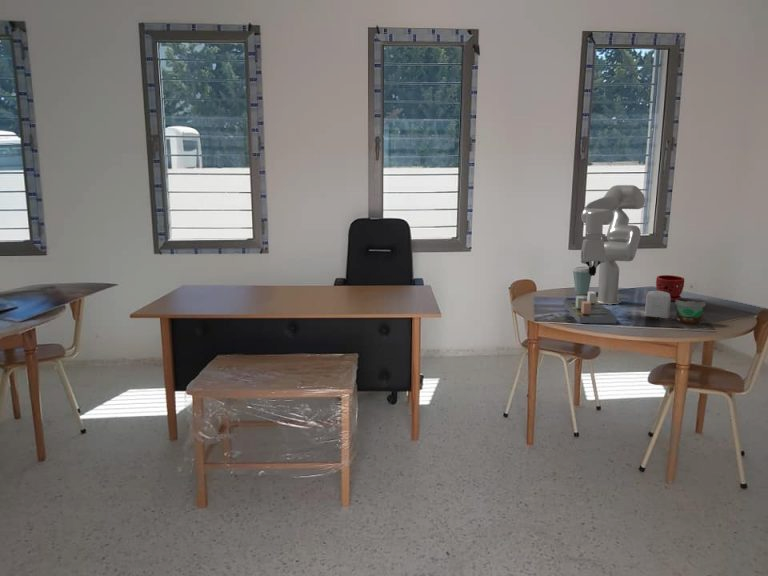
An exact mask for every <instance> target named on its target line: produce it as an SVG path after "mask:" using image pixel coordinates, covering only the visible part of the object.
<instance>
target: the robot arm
mask: <svg viewBox="0 0 768 576" xmlns="http://www.w3.org/2000/svg"><path fill="white" fill-rule="evenodd" d="M645 202H646V196H645V194H644V192H642V191H641V189H640V188H639V187H637V186H636V185H634V184H633V185H632V184H629V185H628V184H620V185H619V184H617V185H613V186H611V187H610V188H609V189H608V190H607V192H606V193H605V195H604V196H603V197H600V198H598V199H595V200H593V201H590V202H588V204H586V205H585V206H584V208H583V210H582V212H581V215H580V216H581V217H580V218H581V221H582V223H583V224H585V233H584V234H585V237H584V239H583V240H582V244H581V251H580V258H581V260H580V263H581V264H584V265H586V266H589V274H590V275H591V277H594V276H595V275H596V273H597V267H598V266H599V270H598V271H599V275H598V289H597V290H598V291H597V292H598V293H597V297H596V301H598V302H599V303H600V304H601V305H606V304H608V305H611V306H613V305H612V304H616V305H620V304H621V303H622V301H621V300H628V298H629V297H628V295H623V294H620V293H619V282H620V279H619V278H620V267H619V265H618V263H617V262H632V261H633V260H634V259H635V257H636V253H637V251H638V248H639V243H640V240H641V229H640V228H639V226H638V225H633V224H629V223H630V218H629V216H628V214H627V213H626V212H625V211H624V210H641V209H642V208H643V207H644V206H645ZM604 225H609V226H608V230H607V232H606V234H605V233H603V229H604ZM605 237H606V240H607V241H604V239H603V238H605ZM592 262H593V263H592ZM619 303H620V304H619Z"/></svg>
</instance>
